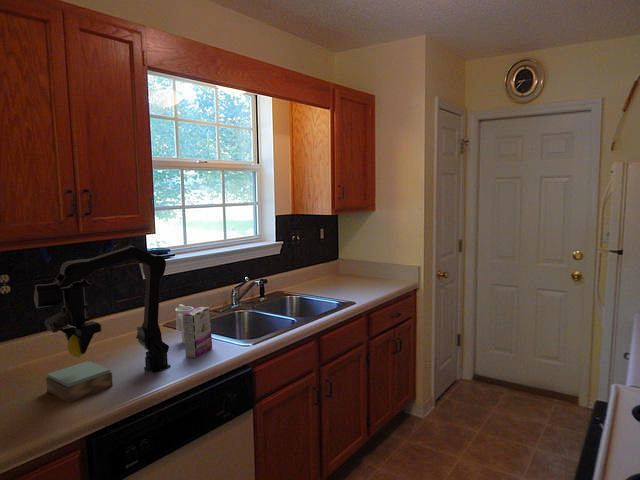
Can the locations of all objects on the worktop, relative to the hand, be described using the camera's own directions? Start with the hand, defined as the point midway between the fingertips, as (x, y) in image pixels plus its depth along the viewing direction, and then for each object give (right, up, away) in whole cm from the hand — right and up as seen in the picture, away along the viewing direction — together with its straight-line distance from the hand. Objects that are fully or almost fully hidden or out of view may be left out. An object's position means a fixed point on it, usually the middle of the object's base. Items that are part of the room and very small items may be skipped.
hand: (78, 351), depth 146 cm
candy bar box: (+29, -8, +32) cm, 44 cm away
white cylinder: (+21, -7, +44) cm, 49 cm away
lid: (0, -7, +1) cm, 8 cm away
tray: (0, -12, +1) cm, 12 cm away
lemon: (0, -2, 0) cm, 2 cm away
